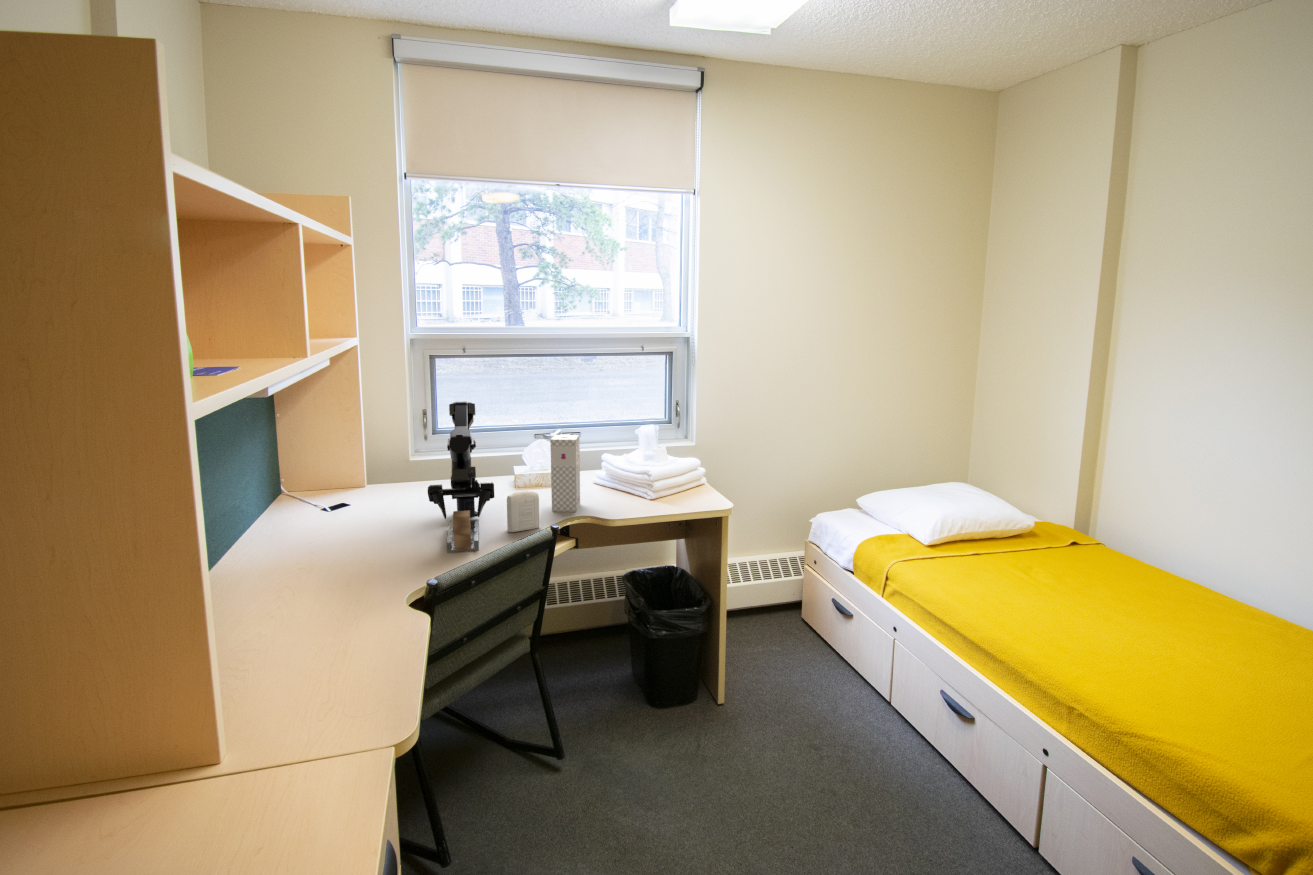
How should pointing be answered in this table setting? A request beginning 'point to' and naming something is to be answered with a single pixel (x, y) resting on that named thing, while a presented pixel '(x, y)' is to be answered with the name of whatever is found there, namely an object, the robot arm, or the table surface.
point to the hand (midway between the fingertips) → (462, 517)
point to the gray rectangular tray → (474, 537)
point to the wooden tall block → (462, 530)
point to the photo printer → (522, 511)
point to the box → (565, 473)
